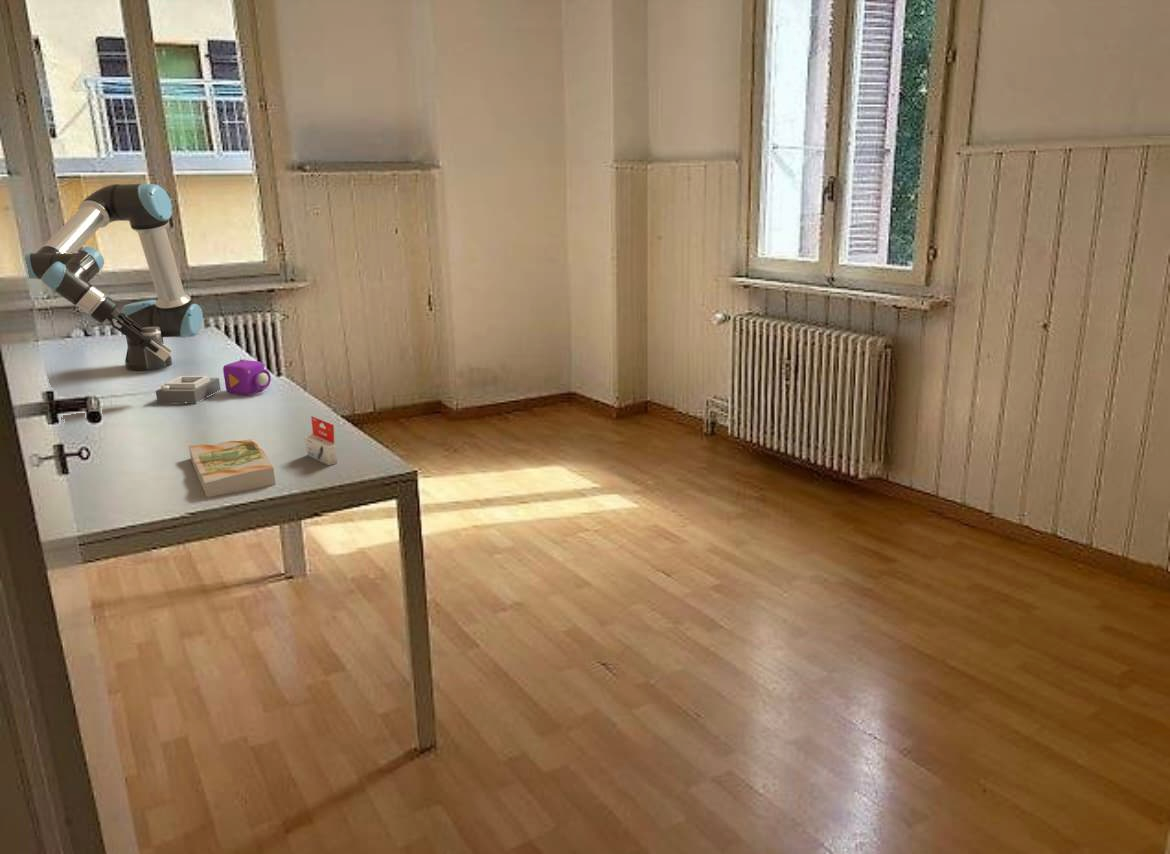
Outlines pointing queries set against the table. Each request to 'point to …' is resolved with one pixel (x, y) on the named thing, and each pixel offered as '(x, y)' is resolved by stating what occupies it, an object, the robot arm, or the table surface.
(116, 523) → the table surface
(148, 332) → the dark grey cylinder
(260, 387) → the toy camera
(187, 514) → the table surface
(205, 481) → the topographic model
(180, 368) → the table surface
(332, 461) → the ink cartridge box
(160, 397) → the block
